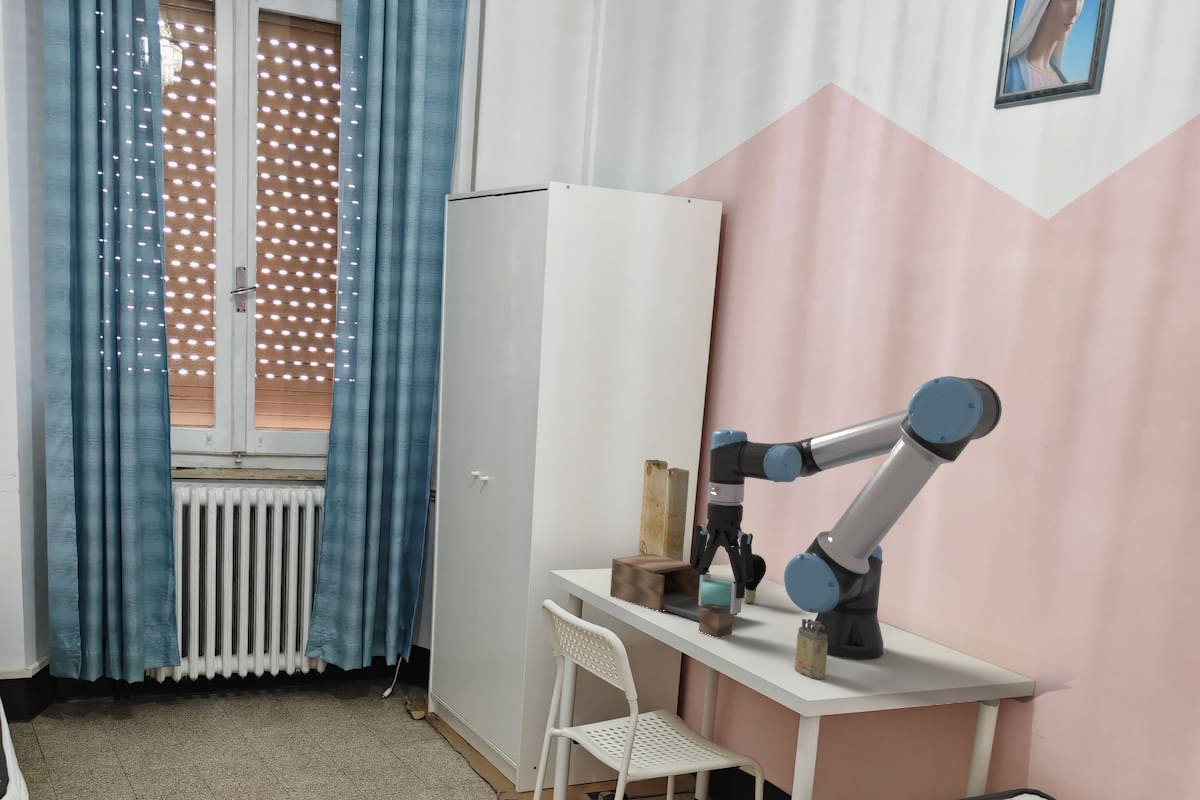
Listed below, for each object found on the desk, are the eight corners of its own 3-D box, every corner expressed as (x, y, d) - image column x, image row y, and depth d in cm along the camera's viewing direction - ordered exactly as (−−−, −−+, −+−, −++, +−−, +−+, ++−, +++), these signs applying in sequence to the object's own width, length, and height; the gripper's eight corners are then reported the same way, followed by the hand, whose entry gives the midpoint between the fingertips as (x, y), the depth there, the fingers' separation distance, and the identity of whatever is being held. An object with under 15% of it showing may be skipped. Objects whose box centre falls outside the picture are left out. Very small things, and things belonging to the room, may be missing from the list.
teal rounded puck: (746, 601, 209) (747, 585, 208) (722, 607, 203) (723, 590, 203) (716, 594, 214) (717, 578, 214) (693, 599, 209) (694, 582, 209)
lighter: (829, 678, 184) (833, 626, 184) (813, 680, 183) (817, 628, 182) (804, 666, 191) (808, 616, 190) (789, 668, 189) (793, 617, 188)
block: (731, 634, 209) (733, 611, 209) (716, 638, 206) (718, 614, 206) (713, 628, 213) (715, 605, 213) (698, 632, 209) (700, 609, 209)
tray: (737, 614, 224) (739, 586, 224) (702, 622, 215) (704, 593, 215) (678, 597, 237) (680, 570, 237) (643, 603, 228) (645, 576, 228)
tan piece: (634, 566, 269) (642, 458, 268) (656, 566, 271) (664, 459, 269) (659, 587, 247) (668, 469, 245) (682, 588, 248) (691, 470, 246)
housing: (698, 603, 233) (701, 566, 233) (659, 611, 224) (662, 573, 223) (649, 588, 245) (652, 553, 244) (610, 595, 235) (612, 558, 235)
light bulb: (755, 608, 233) (759, 558, 232) (730, 602, 237) (734, 553, 236) (768, 603, 238) (772, 555, 238) (743, 598, 242) (747, 550, 242)
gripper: (676, 497, 213) (671, 600, 213) (754, 510, 198) (747, 622, 199) (699, 495, 218) (693, 596, 219) (776, 508, 203) (769, 616, 204)
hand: (719, 608), depth 209 cm, fingers closed on teal rounded puck, 8 cm apart
